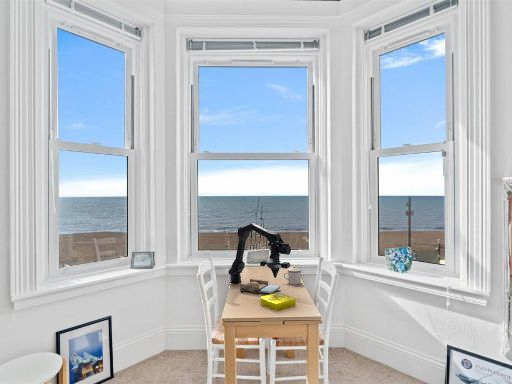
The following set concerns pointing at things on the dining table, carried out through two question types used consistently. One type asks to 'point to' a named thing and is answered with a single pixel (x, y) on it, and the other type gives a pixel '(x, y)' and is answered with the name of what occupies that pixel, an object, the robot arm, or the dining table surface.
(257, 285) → the cube with rounded ends
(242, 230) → the robot arm
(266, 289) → the tailgate
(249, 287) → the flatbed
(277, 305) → the element tile
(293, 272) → the teacup with lid
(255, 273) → the dining table surface
